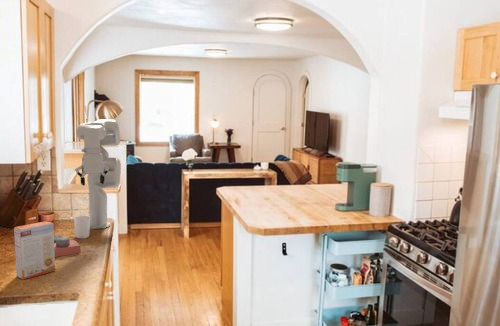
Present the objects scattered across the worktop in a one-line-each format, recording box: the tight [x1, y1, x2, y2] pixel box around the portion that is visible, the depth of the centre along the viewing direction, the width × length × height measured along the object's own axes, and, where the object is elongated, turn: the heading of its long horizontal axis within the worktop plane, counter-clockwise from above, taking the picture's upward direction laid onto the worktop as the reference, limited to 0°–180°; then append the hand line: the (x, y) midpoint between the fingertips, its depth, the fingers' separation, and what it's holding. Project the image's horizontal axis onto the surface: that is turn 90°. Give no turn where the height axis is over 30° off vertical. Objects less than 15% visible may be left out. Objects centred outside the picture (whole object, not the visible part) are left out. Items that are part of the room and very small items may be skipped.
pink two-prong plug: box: [54, 236, 82, 258], centre depth 227 cm, size 17×14×6 cm
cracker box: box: [13, 220, 56, 280], centre depth 196 cm, size 14×6×21 cm, turn 141°
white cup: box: [73, 215, 91, 239], centre depth 250 cm, size 8×8×10 cm
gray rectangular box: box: [54, 234, 64, 243], centre depth 232 cm, size 7×5×5 cm
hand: (92, 184), depth 245 cm, fingers open, 9 cm apart
